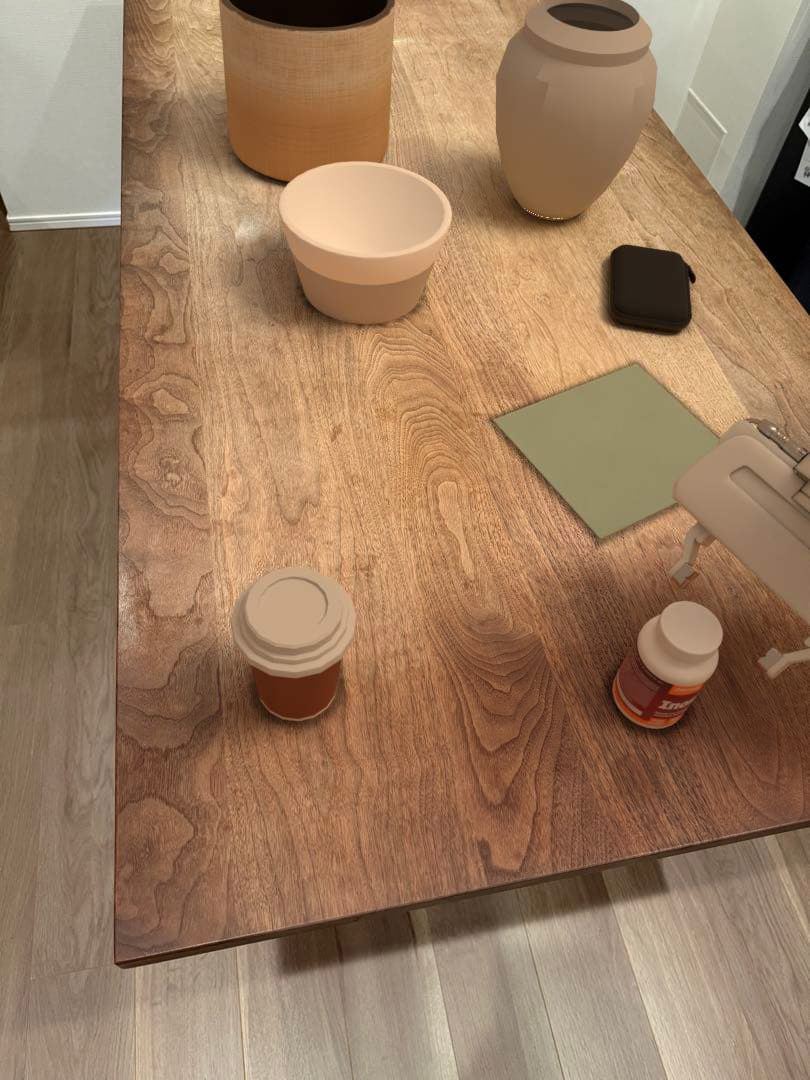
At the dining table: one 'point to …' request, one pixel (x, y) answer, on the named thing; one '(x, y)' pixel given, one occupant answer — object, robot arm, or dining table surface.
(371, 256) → the bowl
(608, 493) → the mat
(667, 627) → the pill bottle
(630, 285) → the carrying case
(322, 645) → the coffee cup
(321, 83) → the planter
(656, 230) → the dining table surface
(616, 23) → the vase
